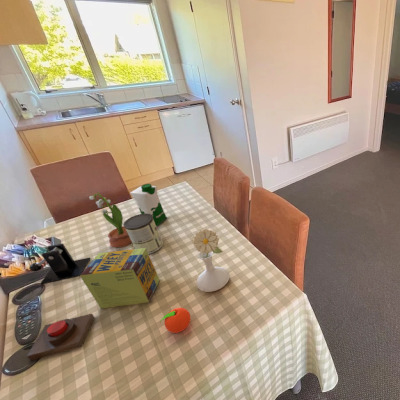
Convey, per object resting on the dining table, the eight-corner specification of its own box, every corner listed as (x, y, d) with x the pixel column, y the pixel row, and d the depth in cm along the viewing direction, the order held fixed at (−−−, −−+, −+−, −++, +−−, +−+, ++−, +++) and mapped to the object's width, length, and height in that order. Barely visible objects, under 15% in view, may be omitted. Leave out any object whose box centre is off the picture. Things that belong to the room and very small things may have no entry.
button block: (30, 360, 74) (22, 352, 72) (49, 329, 82) (42, 321, 80) (82, 346, 77) (75, 338, 75) (95, 317, 85) (89, 309, 83)
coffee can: (133, 247, 115) (120, 220, 108) (158, 236, 121) (148, 210, 114) (139, 258, 108) (126, 231, 101) (166, 246, 115) (155, 220, 108)
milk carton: (158, 227, 127) (143, 190, 117) (141, 225, 128) (125, 189, 118) (169, 216, 135) (157, 181, 125) (153, 215, 136) (139, 180, 126)
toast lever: (34, 274, 97) (24, 270, 95) (39, 268, 100) (30, 264, 98) (60, 255, 97) (51, 250, 95) (64, 250, 100) (55, 245, 98)
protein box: (150, 302, 90) (133, 269, 82) (100, 309, 88) (78, 275, 80) (160, 279, 99) (146, 247, 91) (115, 284, 97) (97, 252, 89)
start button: (47, 338, 75) (43, 334, 74) (54, 326, 79) (51, 322, 78) (64, 334, 76) (61, 330, 76) (70, 322, 80) (67, 318, 79)
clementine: (163, 342, 78) (155, 327, 74) (165, 323, 83) (158, 308, 80) (193, 332, 80) (187, 317, 77) (192, 314, 86) (187, 299, 82)
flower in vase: (190, 289, 94) (169, 234, 82) (212, 267, 104) (196, 214, 91) (220, 300, 90) (203, 243, 78) (240, 276, 100) (228, 221, 87)
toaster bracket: (42, 286, 97) (23, 262, 91) (55, 267, 105) (39, 244, 99) (81, 277, 100) (66, 253, 94) (91, 260, 108) (78, 237, 102)
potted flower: (101, 247, 115) (74, 197, 102) (120, 233, 123) (96, 186, 110) (126, 250, 113) (100, 200, 100) (143, 236, 121) (121, 187, 109)
